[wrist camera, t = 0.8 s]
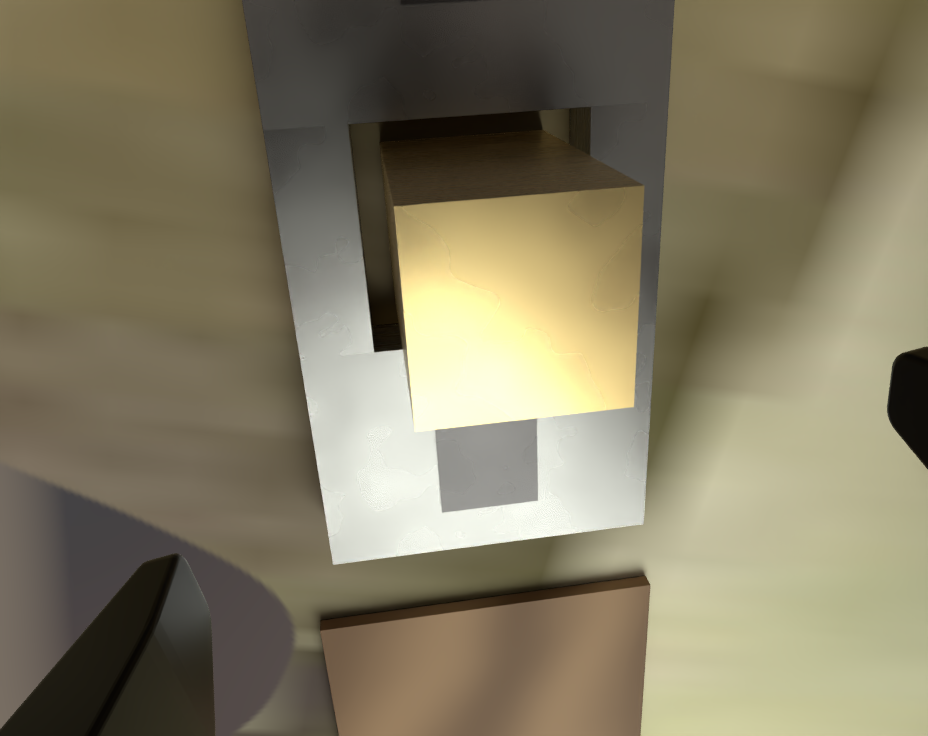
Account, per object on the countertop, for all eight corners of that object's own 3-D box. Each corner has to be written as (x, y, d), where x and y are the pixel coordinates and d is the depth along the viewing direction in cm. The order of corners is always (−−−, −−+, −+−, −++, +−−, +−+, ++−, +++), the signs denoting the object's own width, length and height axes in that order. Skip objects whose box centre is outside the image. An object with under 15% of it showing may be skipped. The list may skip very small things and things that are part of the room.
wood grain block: (542, 129, 21) (644, 185, 13) (543, 285, 22) (633, 407, 15) (379, 141, 20) (393, 206, 13) (394, 299, 22) (415, 431, 15)
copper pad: (645, 575, 28) (650, 585, 27) (632, 790, 33) (636, 800, 32) (320, 620, 27) (320, 630, 26) (359, 835, 32) (358, 847, 31)
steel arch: (654, -222, 18) (690, -251, 16) (623, 489, 26) (644, 525, 24) (220, -210, 17) (202, -240, 15) (334, 525, 25) (333, 566, 23)
